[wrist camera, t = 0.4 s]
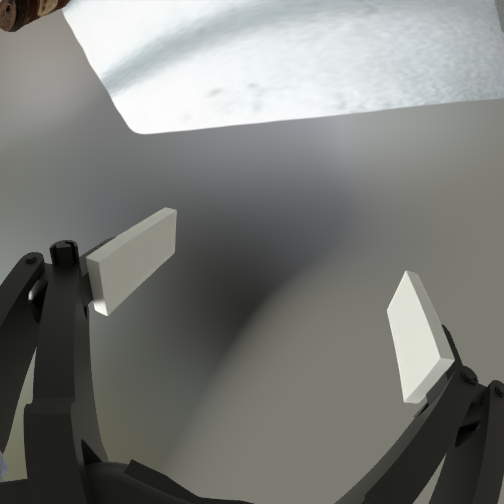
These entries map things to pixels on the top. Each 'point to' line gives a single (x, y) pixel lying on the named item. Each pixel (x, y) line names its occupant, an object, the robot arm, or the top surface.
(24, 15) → the coffee cup
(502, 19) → the mat
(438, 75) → the top surface
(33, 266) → the robot arm
